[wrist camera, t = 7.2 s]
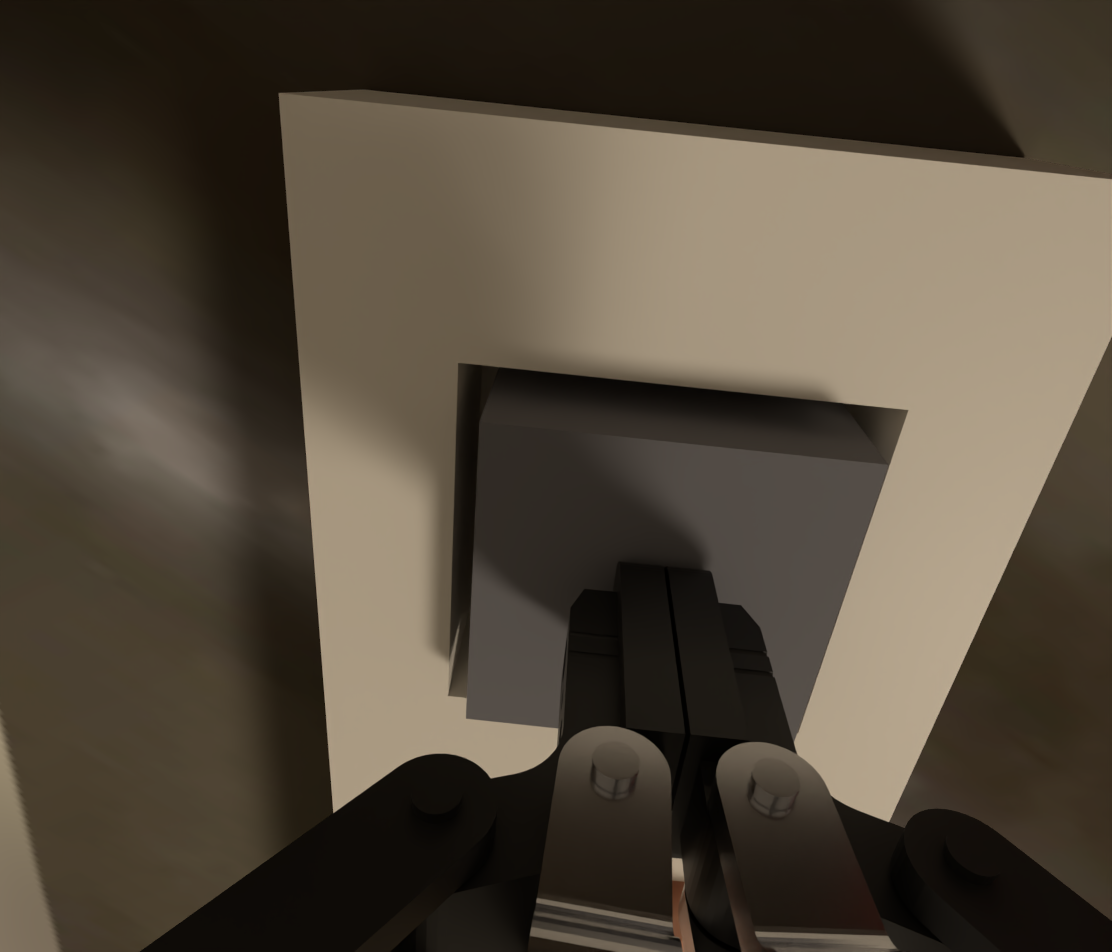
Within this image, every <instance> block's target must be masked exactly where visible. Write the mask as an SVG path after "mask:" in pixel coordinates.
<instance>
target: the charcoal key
mask: <svg viewBox="0 0 1112 952" xmlns="http://www.w3.org/2000/svg"><path fill="white" fill-rule="evenodd" d="M887 468H888V463H887V462H886V461H885V459H884V458H883V457H882V455H881V454H880V453H879V451H878V450H877V449H876V447H875V446H874V445H873V443H872V442H871V441H870V439H869V438H868V437H867V435H866V434H865V433H864V431H863V430H862V428H861V427H860V426H859V424H858V423H857V422H856V420H855V419H854V418H853V416H852V415H851V414H850V412H849V411H848V410H847V408H846V407H845V406H844V404H843V403H837V402H827V401H818V400H808V399H799V398H789V397H780V396H770V395H761V394H751V393H742V392H732V391H723V390H713V389H704V388H694V387H685V386H675V385H666V384H656V383H647V382H637V381H628V380H618V379H609V378H599V377H590V376H580V375H571V374H561V373H552V372H542V371H532V370H523V369H513V368H504V367H499V368H498V371H497V374H496V377H495V380H494V382H493V385H492V388H491V391H490V394H489V396H488V399H487V402H486V405H485V408H484V410H483V413H482V416H481V419H480V422H479V443H478V465H477V486H476V508H475V529H474V551H473V573H472V594H471V616H470V638H469V659H468V681H467V703H466V719H474V720H483V721H492V722H502V723H511V724H520V725H530V726H539V727H548V728H557V729H558V725H559V724H558V723H559V708H560V693H561V678H562V670H563V662H564V654H565V646H566V638H567V630H568V623H569V615H570V607H571V606H572V605H573V603H574V602H575V601H576V599H577V598H578V597H579V595H580V594H581V593H582V591H583V590H584V589H592V590H602V591H611V592H613V587H614V580H615V574H616V568H617V564H618V562H619V561H621V562H630V563H640V564H649V565H658V566H663V568H665V566H669V567H679V568H688V569H698V570H707V571H711V573H712V575H713V579H714V584H715V588H716V593H717V597H718V602H719V603H726V604H735V605H741V606H742V607H743V608H744V609H745V610H746V611H747V613H748V614H749V615H750V616H751V617H752V618H753V620H754V621H755V622H756V623H757V624H758V626H759V627H760V628H761V632H762V635H763V639H764V642H765V646H766V649H767V657H769V659H770V663H771V666H772V670H773V677H775V680H776V683H777V687H778V690H779V694H780V697H781V700H782V704H783V707H784V711H785V714H786V718H787V721H788V725H789V728H790V731H791V735H792V738H793V742H794V741H795V738H796V735H797V732H798V729H799V726H800V723H801V720H802V718H803V715H804V712H805V709H806V706H807V703H808V700H809V697H810V694H811V691H812V688H813V685H814V682H815V679H816V677H817V674H818V671H819V668H820V665H821V662H822V659H823V656H824V653H825V650H826V647H827V644H828V641H829V638H830V635H831V633H832V630H833V627H834V624H835V621H836V618H837V615H838V612H839V609H840V606H841V603H842V600H843V597H844V594H845V591H846V589H847V586H848V583H849V580H850V577H851V574H852V571H853V568H854V565H855V562H856V559H857V556H858V553H859V550H860V548H861V545H862V542H863V539H864V536H865V533H866V530H867V527H868V524H869V521H870V518H871V515H872V512H873V509H874V506H875V504H876V501H877V498H878V495H879V492H880V489H881V486H882V483H883V480H884V477H885V474H886V471H887Z"/></svg>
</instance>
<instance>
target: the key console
mask: <svg viewBox="0 0 1112 952" xmlns="http://www.w3.org/2000/svg"><path fill="white" fill-rule="evenodd" d="M279 105H280V119H281V132H282V145H283V158H284V171H285V184H286V197H287V210H288V224H289V237H290V250H291V263H292V276H293V289H294V302H295V315H296V329H297V342H298V355H299V368H300V381H301V394H302V407H303V421H304V434H305V447H306V460H307V473H308V486H309V499H310V512H311V526H312V539H313V552H314V565H315V578H316V591H317V604H318V618H319V631H320V644H321V657H322V670H323V683H324V696H325V709H326V723H327V736H328V749H329V762H330V775H331V788H332V801H333V813H334V812H336V811H337V810H338V809H340V808H341V807H343V806H344V805H345V804H347V803H348V802H350V801H351V800H352V799H354V798H355V797H357V796H358V795H359V794H361V793H362V792H364V791H365V790H366V789H368V788H369V787H371V786H372V785H373V784H375V783H376V782H378V781H379V780H380V779H382V778H383V777H384V776H386V775H387V774H389V773H390V772H391V771H393V770H394V769H396V768H397V767H399V766H400V765H402V764H403V763H405V762H407V761H409V760H411V759H414V758H416V757H420V756H423V755H428V754H436V753H437V754H452V755H457V756H460V757H464V758H466V759H468V760H470V761H472V762H474V763H476V764H477V765H478V766H480V767H481V768H482V769H483V770H484V771H485V772H486V773H487V774H488V775H489V777H490V778H495V777H501V776H506V775H512V774H516V773H520V772H524V771H526V770H529V769H531V768H534V767H535V766H537V765H539V764H540V763H542V762H543V761H545V760H546V759H547V758H548V757H549V756H550V755H551V754H552V753H553V752H554V751H555V749H556V748H557V738H558V729H557V728H548V727H539V726H530V725H520V724H511V723H502V722H492V721H483V720H474V719H466V703H467V681H468V659H469V638H470V616H471V594H472V573H473V551H474V529H475V508H476V486H477V465H478V443H479V422H480V419H481V416H482V413H483V410H484V408H485V405H486V402H487V399H488V396H489V394H490V391H491V388H492V385H493V382H494V380H495V377H496V374H497V371H498V368H499V367H504V368H513V369H523V370H532V371H542V372H552V373H561V374H571V375H580V376H590V377H599V378H609V379H618V380H628V381H637V382H647V383H656V384H666V385H675V386H685V387H694V388H704V389H713V390H723V391H732V392H742V393H751V394H761V395H770V396H780V397H789V398H799V399H808V400H818V401H827V402H837V403H843V404H844V406H845V407H846V408H847V410H848V411H849V412H850V414H851V415H852V416H853V418H854V419H855V420H856V422H857V423H858V424H859V426H860V427H861V428H862V430H863V431H864V433H865V434H866V435H867V437H868V438H869V439H870V441H871V442H872V443H873V445H874V446H875V447H876V449H877V450H878V451H879V453H880V454H881V455H882V457H883V458H884V459H885V461H886V462H887V463H888V468H887V471H886V474H885V477H884V480H883V483H882V486H881V489H880V492H879V495H878V498H877V501H876V504H875V506H874V509H873V512H872V515H871V518H870V521H869V524H868V527H867V530H866V533H865V536H864V539H863V542H862V545H861V548H860V550H859V553H858V556H857V559H856V562H855V565H854V568H853V571H852V574H851V577H850V580H849V583H848V586H847V589H846V591H845V594H844V597H843V600H842V603H841V606H840V609H839V612H838V615H837V618H836V621H835V624H834V627H833V630H832V633H831V635H830V638H829V641H828V644H827V647H826V650H825V653H824V656H823V659H822V662H821V665H820V668H819V671H818V674H817V677H816V679H815V682H814V685H813V688H812V691H811V694H810V697H809V700H808V703H807V706H806V709H805V712H804V715H803V718H802V720H801V723H800V726H799V729H798V732H797V735H796V738H795V741H794V745H795V749H796V752H797V755H798V756H800V757H801V758H803V759H804V760H805V761H807V762H808V763H809V764H810V765H811V766H812V767H813V768H814V769H815V770H816V771H817V772H818V773H819V774H820V776H821V777H822V779H823V780H824V782H825V784H826V786H827V788H828V790H829V792H830V795H831V796H832V797H834V798H835V799H837V800H838V801H840V802H842V803H844V804H845V805H847V806H849V807H851V808H854V809H856V810H858V811H861V812H863V813H866V814H869V815H871V816H874V817H876V818H879V819H882V820H884V821H887V822H889V821H890V819H891V816H892V814H893V812H894V810H895V808H896V805H897V803H898V801H899V799H900V797H901V795H902V792H903V790H904V788H905V786H906V784H907V781H908V779H909V777H910V775H911V773H912V771H913V768H914V766H915V764H916V762H917V760H918V757H919V755H920V753H921V751H922V749H923V747H924V744H925V742H926V740H927V738H928V736H929V734H930V731H931V729H932V727H933V725H934V723H935V720H936V718H937V716H938V714H939V712H940V710H941V707H942V705H943V703H944V701H945V699H946V696H947V694H948V692H949V690H950V688H951V686H952V683H953V681H954V679H955V677H956V675H957V672H958V670H959V668H960V666H961V664H962V662H963V659H964V657H965V655H966V653H967V651H968V648H969V646H970V644H971V642H972V640H973V638H974V635H975V633H976V631H977V629H978V627H979V624H980V622H981V620H982V618H983V616H984V614H985V611H986V609H987V607H988V605H989V603H990V601H991V598H992V596H993V594H994V592H995V590H996V587H997V585H998V583H999V581H1000V579H1001V577H1002V574H1003V572H1004V570H1005V568H1006V566H1007V563H1008V561H1009V559H1010V557H1011V555H1012V553H1013V550H1014V548H1015V546H1016V544H1017V542H1018V539H1019V537H1020V535H1021V533H1022V531H1023V529H1024V526H1025V524H1026V522H1027V520H1028V518H1029V515H1030V513H1031V511H1032V509H1033V507H1034V505H1035V502H1036V500H1037V498H1038V496H1039V494H1040V492H1041V489H1042V487H1043V485H1044V483H1045V481H1046V478H1047V476H1048V474H1049V472H1050V470H1051V468H1052V465H1053V463H1054V461H1055V459H1056V457H1057V454H1058V452H1059V450H1060V448H1061V446H1062V444H1063V441H1064V439H1065V437H1066V435H1067V433H1068V430H1069V428H1070V426H1071V424H1072V422H1073V420H1074V417H1075V415H1076V413H1077V411H1078V409H1079V406H1080V404H1081V402H1082V400H1083V398H1084V396H1085V393H1086V391H1087V389H1088V387H1089V385H1090V383H1091V380H1092V378H1093V376H1094V374H1095V372H1096V369H1097V367H1098V365H1099V363H1100V361H1101V359H1102V356H1103V354H1104V352H1105V350H1106V348H1107V345H1108V343H1109V341H1110V339H1111V337H1112V174H1110V173H1105V172H1099V171H1094V170H1088V169H1083V168H1078V167H1072V166H1067V165H1061V164H1056V163H1051V162H1045V161H1040V160H1034V159H1029V158H1020V157H1010V156H1001V155H991V154H981V153H972V152H962V151H952V150H943V149H933V148H924V147H914V146H904V145H895V144H885V143H875V142H866V141H856V140H846V139H837V138H827V137H817V136H808V135H798V134H788V133H779V132H769V131H759V130H750V129H740V128H730V127H721V126H711V125H701V124H692V123H682V122H672V121H663V120H653V119H643V118H634V117H624V116H614V115H605V114H595V113H585V112H576V111H566V110H556V109H547V108H537V107H527V106H518V105H508V104H499V103H489V102H479V101H470V100H460V99H450V98H441V97H431V96H421V95H412V94H402V93H392V92H383V91H373V90H339V91H315V92H291V93H279ZM672 880H673V881H682V882H684V872H683V862H682V859H679V858H672Z"/></svg>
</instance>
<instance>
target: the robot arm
mask: <svg viewBox="0 0 1112 952" xmlns="http://www.w3.org/2000/svg"><path fill="white" fill-rule="evenodd" d="M558 724H559V725H558V738H557V748H556V749H555V751H554V752H553V753H552V754H551V755H550V756H549V757H548V758H547V759H546V760H545V761H543V762H542V763H540V764H539V765H537V766H535V767H534V768H531V769H529V770H526V771H524V772H520V773H516V774H512V775H506V776H501V777H495V778H490V777H489V775H488V774H487V773H486V772H485V771H484V770H483V769H482V768H481V767H480V766H478V765H477V764H476V763H474V762H472V761H470V760H468V759H466V758H464V757H460V756H457V755H452V754H437V753H436V754H428V755H423V756H420V757H416V758H414V759H411V760H409V761H407V762H405V763H403V764H402V765H400V766H399V767H397V768H396V769H394V770H393V771H391V772H390V773H389V774H387V775H386V776H384V777H383V778H382V779H380V780H379V781H378V782H376V783H375V784H373V785H372V786H371V787H369V788H368V789H366V790H365V791H364V792H362V793H361V794H359V795H358V796H357V797H355V798H354V799H352V800H351V801H350V802H348V803H347V804H345V805H344V806H343V807H341V808H340V809H338V810H337V811H336V812H334V813H333V814H331V815H330V816H329V817H327V818H326V819H324V820H323V821H322V822H320V823H319V824H317V825H316V826H315V827H313V828H312V829H310V830H309V831H308V832H306V833H305V834H303V835H302V836H301V837H299V838H298V839H296V840H295V841H294V842H292V843H291V844H290V845H288V846H287V847H285V848H284V849H283V850H281V851H280V852H278V853H277V854H276V855H274V856H273V857H271V858H270V859H269V860H267V861H266V862H264V863H263V864H262V865H260V866H259V867H257V868H256V869H255V870H253V871H252V872H250V873H249V874H248V875H246V876H245V877H243V878H242V879H241V880H239V881H238V882H236V883H235V884H234V885H232V886H231V887H229V888H228V889H227V890H225V891H224V892H222V893H221V894H220V895H218V896H217V897H215V898H214V899H213V900H211V901H210V902H208V903H207V904H206V905H204V906H203V907H201V908H200V909H199V910H197V911H196V912H195V913H193V914H192V915H190V916H189V917H188V918H186V919H185V920H183V921H182V922H181V923H179V924H178V925H176V926H175V927H174V928H172V929H171V930H169V931H168V932H167V933H165V934H164V935H162V936H161V937H160V938H158V939H157V940H155V941H154V942H153V943H151V944H150V945H148V946H147V947H146V948H144V949H143V950H141V951H140V952H683V948H684V952H1112V921H1111V920H1110V919H1108V918H1107V917H1106V916H1104V915H1103V914H1102V913H1101V912H1099V911H1098V910H1097V909H1095V908H1094V907H1093V906H1092V905H1090V904H1089V903H1088V902H1086V901H1085V900H1084V899H1083V898H1081V897H1080V896H1079V895H1077V894H1076V893H1075V892H1074V891H1072V890H1071V889H1070V888H1068V887H1067V886H1066V885H1065V884H1063V883H1062V882H1061V881H1059V880H1058V879H1057V878H1056V877H1054V876H1053V875H1052V874H1051V873H1049V872H1048V871H1047V870H1045V869H1044V868H1043V867H1042V866H1040V865H1039V864H1038V863H1036V862H1035V861H1034V860H1033V859H1031V858H1030V857H1029V856H1027V855H1026V854H1025V853H1024V852H1022V851H1021V850H1020V849H1018V848H1017V847H1016V846H1015V845H1013V844H1012V843H1011V842H1009V841H1008V840H1007V839H1006V838H1004V837H1003V836H1002V835H1000V834H999V833H998V832H996V831H995V830H994V829H992V828H991V827H989V826H988V825H986V824H984V823H982V822H981V821H979V820H977V819H975V818H973V817H970V816H968V815H966V814H963V813H960V812H956V811H952V810H947V809H928V810H924V811H921V812H919V813H917V814H915V815H914V816H913V817H912V818H911V819H910V820H909V821H908V823H907V825H906V827H905V828H903V827H900V826H898V825H895V824H892V823H890V822H887V821H884V820H882V819H879V818H876V817H874V816H871V815H869V814H866V813H863V812H861V811H858V810H856V809H854V808H851V807H849V806H847V805H845V804H844V803H842V802H840V801H838V800H837V799H835V798H834V797H832V796H831V795H830V792H829V790H828V788H827V786H826V784H825V782H824V780H823V779H822V777H821V776H820V774H819V773H818V772H817V771H816V770H815V769H814V768H813V767H812V766H811V765H810V764H809V763H808V762H807V761H805V760H804V759H803V758H801V757H800V756H798V755H797V752H796V749H795V745H794V742H793V738H792V735H791V731H790V728H789V725H788V721H787V718H786V714H785V711H784V707H783V704H782V700H781V697H780V694H779V690H778V687H777V683H776V680H775V677H773V670H772V666H771V663H770V659H769V657H767V649H766V646H765V642H764V639H763V635H762V632H761V628H760V627H759V626H758V624H757V623H756V622H755V621H754V620H753V618H752V617H751V616H750V615H749V614H748V613H747V611H746V610H745V609H744V608H743V607H742V606H741V605H735V604H726V603H719V602H718V597H717V593H716V588H715V584H714V579H713V575H712V573H711V571H707V570H698V569H688V568H679V567H669V566H665V568H663V566H658V565H649V564H640V563H630V562H621V561H619V562H618V564H617V568H616V574H615V580H614V587H613V592H611V591H602V590H592V589H584V590H583V591H582V593H581V594H580V595H579V597H578V598H577V599H576V601H575V602H574V603H573V605H572V606H571V607H570V615H569V623H568V630H567V638H566V646H565V654H564V662H563V670H562V678H561V693H560V708H559V723H558ZM672 858H679V859H682V862H683V872H684V882H685V884H684V887H683V891H682V895H681V898H680V902H679V908H678V916H679V924H680V930H681V936H682V942H683V948H682V943H681V940H680V938H679V937H675V936H674V931H673V905H672Z"/></svg>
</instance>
